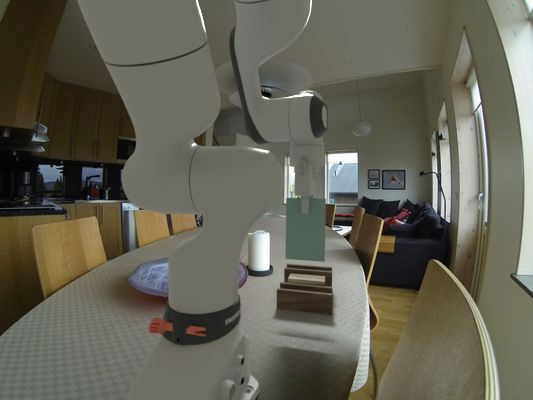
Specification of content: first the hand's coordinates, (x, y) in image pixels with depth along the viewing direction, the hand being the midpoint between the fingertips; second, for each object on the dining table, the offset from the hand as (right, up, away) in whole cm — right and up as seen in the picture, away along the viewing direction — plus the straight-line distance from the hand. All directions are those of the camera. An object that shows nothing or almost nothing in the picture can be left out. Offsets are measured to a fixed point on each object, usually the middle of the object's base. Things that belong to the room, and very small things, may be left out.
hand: (305, 213), depth 66 cm
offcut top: (+1, -21, +6) cm, 21 cm away
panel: (0, -12, 0) cm, 12 cm away
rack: (+1, -26, +7) cm, 27 cm away
